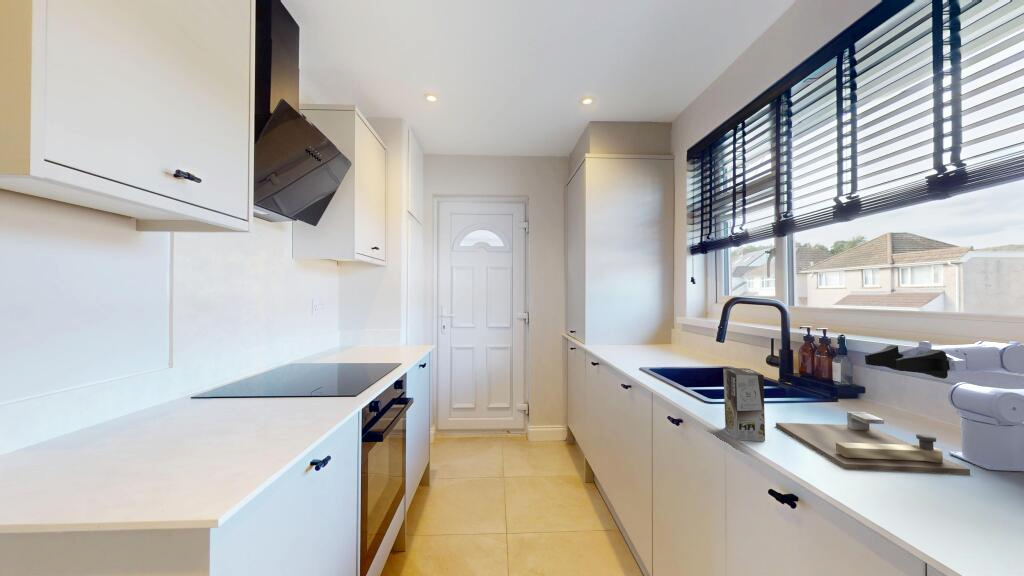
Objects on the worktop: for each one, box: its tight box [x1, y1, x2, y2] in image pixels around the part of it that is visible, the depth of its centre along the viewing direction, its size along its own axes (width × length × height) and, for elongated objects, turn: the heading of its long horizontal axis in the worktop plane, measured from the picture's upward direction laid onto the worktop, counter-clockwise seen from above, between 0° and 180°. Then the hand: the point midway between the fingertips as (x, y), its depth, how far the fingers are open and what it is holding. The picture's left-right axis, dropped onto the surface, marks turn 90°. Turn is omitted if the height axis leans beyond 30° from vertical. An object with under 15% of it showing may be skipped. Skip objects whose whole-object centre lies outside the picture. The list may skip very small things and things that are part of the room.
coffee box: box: [723, 367, 766, 442], centre depth 96 cm, size 9×6×16 cm
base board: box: [775, 411, 971, 475], centre depth 87 cm, size 22×25×5 cm
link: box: [836, 433, 944, 463], centre depth 79 cm, size 18×4×4 cm, turn 82°
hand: (881, 362), depth 81 cm, fingers open, 7 cm apart
